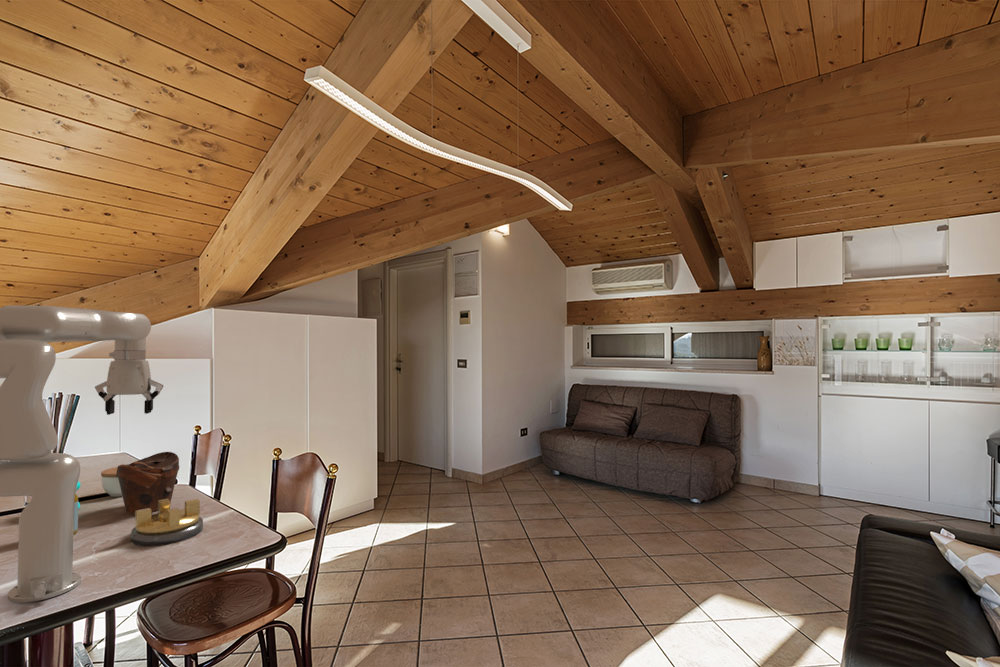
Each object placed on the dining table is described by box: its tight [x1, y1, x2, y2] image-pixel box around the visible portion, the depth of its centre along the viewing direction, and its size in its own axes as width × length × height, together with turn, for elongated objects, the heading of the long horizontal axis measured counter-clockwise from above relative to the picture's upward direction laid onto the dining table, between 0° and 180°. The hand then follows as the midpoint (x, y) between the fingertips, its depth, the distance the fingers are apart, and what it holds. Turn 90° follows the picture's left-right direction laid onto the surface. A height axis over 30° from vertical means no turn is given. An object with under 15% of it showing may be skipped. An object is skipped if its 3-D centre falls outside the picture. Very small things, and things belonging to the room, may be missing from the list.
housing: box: [130, 516, 204, 547], centre depth 150 cm, size 18×18×6 cm
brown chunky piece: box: [116, 451, 180, 515], centre depth 173 cm, size 18×20×18 cm
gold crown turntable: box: [134, 498, 201, 535], centre depth 150 cm, size 16×16×6 cm
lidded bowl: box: [100, 463, 125, 498], centre depth 189 cm, size 13×13×11 cm
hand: (129, 413), depth 149 cm, fingers open, 9 cm apart
